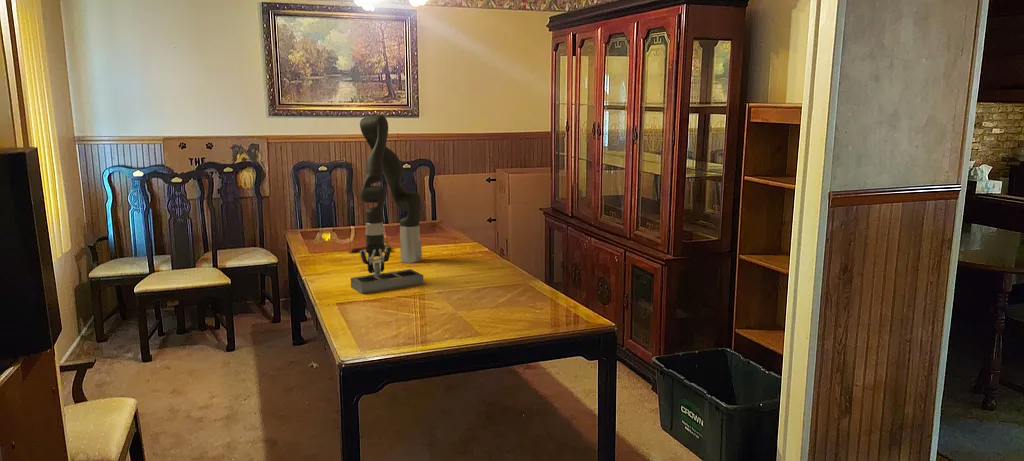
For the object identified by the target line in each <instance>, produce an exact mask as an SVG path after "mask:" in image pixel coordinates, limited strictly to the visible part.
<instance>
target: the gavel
mask: <svg viewBox="0 0 1024 461" xmlns="http://www.w3.org/2000/svg"><path fill="white" fill-rule="evenodd" d="M384 246H385V247H390V248H391V249H392V247H391V245H390V243H389V242H388V241H386V240H384ZM365 248H366V246H363V247H355V248H351V249H350V250H348V251H347V253H351V254H360V253H359V251H360V250H364V249H365ZM366 253H367V251H366ZM383 253H384V254H385V249H384V251H383Z"/></svg>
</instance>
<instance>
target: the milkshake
mask: <svg viewBox="0 0 1024 461" xmlns="http://www.w3.org/2000/svg"><path fill="white" fill-rule="evenodd" d="M371 265H372V273H371V275H374V274H381V273H382V272H381V260H380V259H379V258H378V257H377V258H376V257H374V259H373V261H372V264H371Z"/></svg>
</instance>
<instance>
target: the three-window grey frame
mask: <svg viewBox="0 0 1024 461" xmlns="http://www.w3.org/2000/svg"><path fill="white" fill-rule="evenodd" d="M421 285H424V274H422V273H420V272H418V271H415V270H414V269H410V268H409V269H404V270H402V269H401V270H395V271H389V272H381V274H374V275H373V274H368V275H361V276H354V277H350V288H351V289H353V290H355V291H357V292H358V293H360V294H361V295H365V294H371V293H376V292H383V291H389V290H396V289H402V288H409V287H414V286H415V287H416V286H421Z"/></svg>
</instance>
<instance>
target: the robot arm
mask: <svg viewBox="0 0 1024 461" xmlns="http://www.w3.org/2000/svg"><path fill="white" fill-rule="evenodd" d="M359 127H360V128H359V129H360V131H361V134H362V135H363V138H364V140H365V141H366V142H367V144H368V146H369V148H370V149H371V151H370V153H369V155H368V157H367V159H366V162H365V174H364V175H365V176H364V180H363V183H362V187H361V190H360V193H359V196H360V200H361V201H362V202H363V203H367V204H370V203H371V204H375V203H376V204H377V205H376V206H374V207H370V208H366V210H365V247H366V248H365V249H364V250H360V251H359V253H358V254H359V256H360V258H361V261H362V263H363V264H365V265H367V271H368V273H369V274H372V265H371V264H372V261H373V259H375V258H376V257H377V258H379V259H380V260H381V273H384V270H385V263H386V262H389V259H390V255H391V250H392V247H391V248H390V247H385V246H384V241H385V229H384V222H383V221H384V220H383V215H384V214H383V210H384V205H385V201H386V198H387V190H386V188H385V187H384V186H382V185H373V184H377V183H380V182H381V181H382V180H383V176H384V178H385V180H386V182H387V184H388V187H389V189H390V193H391V195H392V197H393V201H394V204H395V206H396V207H397V209H398V210H400V211H404V212H407V216H406V217H403V218H400V219H399V235H400V236H399V243H400V244H399V246H400V262H401V263H407V264H408V263H409V264H410V263H411V264H412V263H418V262H421V261H423V257H422V256H423V253H422V252H423V251H422V250H423V249H422V248H423V247H422V241H421V239H420V238H421V236H420V232H421V230H420V221H421V215H422V214H421V213H422V212H421V211H422V198H421V196H420V194H419V193H418V192H416V191H406V190H405V189H404V187H403V184H402V176H403V174H404V173H403V171H404V169H403V165H402V163H401V161H400V158H399V156H398V155H397V154H396V153H395V152H394V151H393V150H392V149H390V148H389V147H388V146H387V140H388V135H389V122H388V119H387V117H386V116H385V115H383V114H379V115H377V114H376V115H372V116H368V117H367V116H365V117H363V118H360V122H359ZM384 249H385V253H384V252H383V251H384ZM366 251H367V252H366ZM383 253H384V254H383ZM367 254H368V255H367ZM366 255H367V257H366Z"/></svg>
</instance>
